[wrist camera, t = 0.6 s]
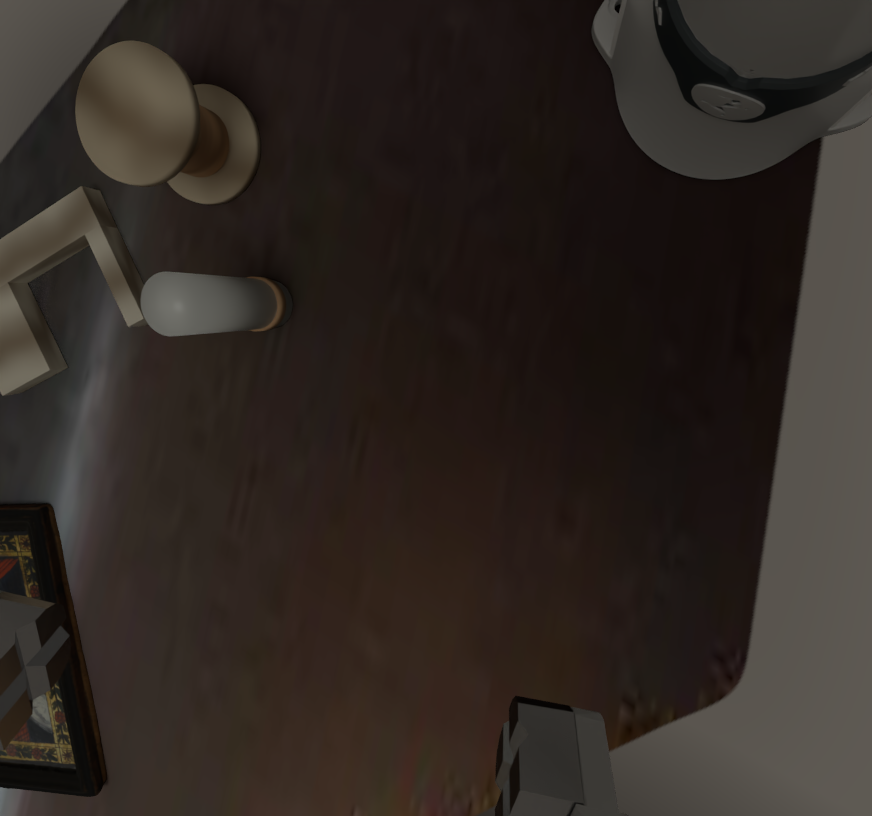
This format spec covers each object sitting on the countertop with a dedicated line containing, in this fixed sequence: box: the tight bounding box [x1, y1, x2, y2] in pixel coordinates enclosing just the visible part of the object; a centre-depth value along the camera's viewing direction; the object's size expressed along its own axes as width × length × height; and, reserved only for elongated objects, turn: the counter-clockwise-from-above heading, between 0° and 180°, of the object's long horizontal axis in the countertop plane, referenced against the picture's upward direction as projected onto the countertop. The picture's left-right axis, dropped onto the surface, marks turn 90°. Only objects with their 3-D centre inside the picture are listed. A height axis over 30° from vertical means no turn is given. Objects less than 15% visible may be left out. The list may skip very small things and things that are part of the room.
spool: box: [75, 41, 261, 205], centre depth 44 cm, size 9×9×9 cm
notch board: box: [0, 186, 148, 396], centre depth 53 cm, size 12×18×2 cm
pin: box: [141, 272, 293, 336], centre depth 43 cm, size 4×4×13 cm
